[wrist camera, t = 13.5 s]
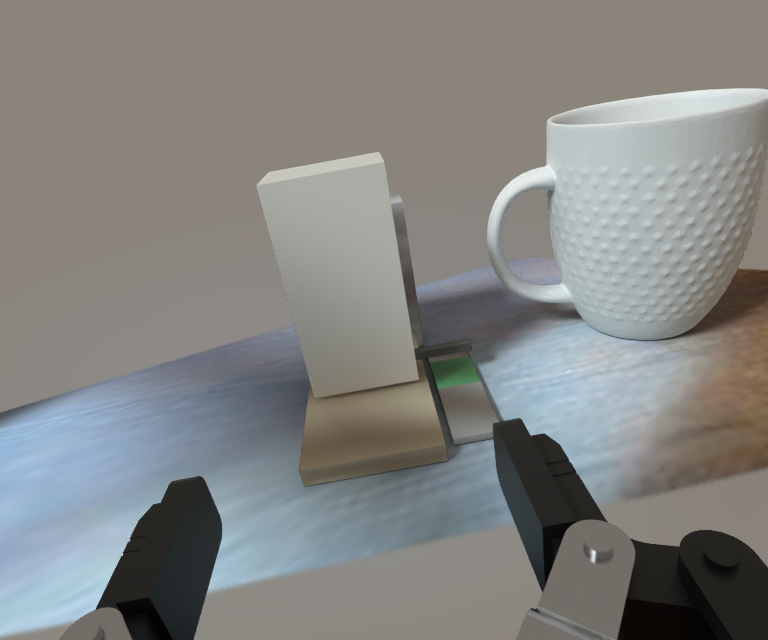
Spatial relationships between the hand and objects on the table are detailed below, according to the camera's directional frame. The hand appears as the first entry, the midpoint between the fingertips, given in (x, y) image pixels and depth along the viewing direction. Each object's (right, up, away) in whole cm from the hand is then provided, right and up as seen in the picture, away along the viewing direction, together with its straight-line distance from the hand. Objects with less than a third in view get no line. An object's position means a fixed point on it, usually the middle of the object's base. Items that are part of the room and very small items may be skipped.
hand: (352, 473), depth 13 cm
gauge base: (+1, 0, +16) cm, 16 cm away
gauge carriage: (+2, +1, +16) cm, 16 cm away
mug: (+17, +4, +19) cm, 26 cm away
